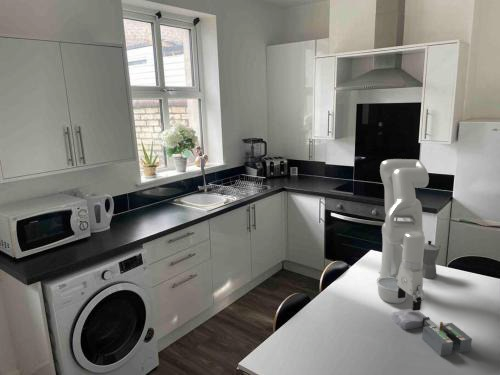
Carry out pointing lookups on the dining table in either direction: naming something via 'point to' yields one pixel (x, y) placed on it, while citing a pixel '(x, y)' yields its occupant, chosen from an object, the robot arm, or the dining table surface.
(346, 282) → the dining table surface
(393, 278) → the ramekin
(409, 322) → the stone block
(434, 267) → the coffeepot
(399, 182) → the robot arm
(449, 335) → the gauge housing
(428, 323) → the bar with dark endcap
